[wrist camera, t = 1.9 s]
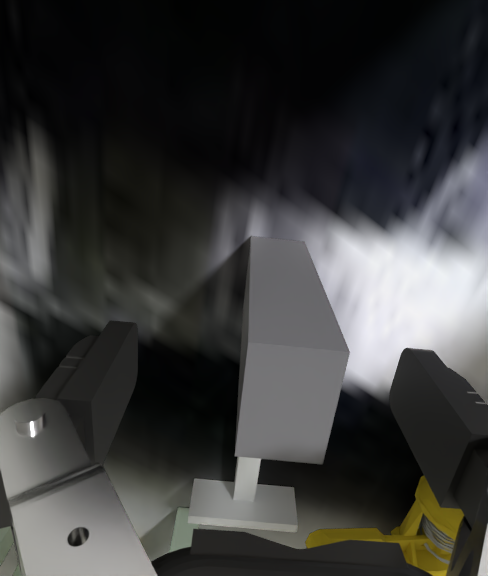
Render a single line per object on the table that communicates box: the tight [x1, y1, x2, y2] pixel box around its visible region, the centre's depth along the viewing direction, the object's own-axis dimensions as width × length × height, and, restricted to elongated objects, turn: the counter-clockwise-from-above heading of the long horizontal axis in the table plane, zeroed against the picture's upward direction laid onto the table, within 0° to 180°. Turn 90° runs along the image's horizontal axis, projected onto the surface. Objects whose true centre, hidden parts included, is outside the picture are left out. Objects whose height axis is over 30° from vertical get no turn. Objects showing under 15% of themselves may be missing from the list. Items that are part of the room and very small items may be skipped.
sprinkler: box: [305, 476, 464, 576], centre depth 24 cm, size 19×4×15 cm
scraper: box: [188, 236, 350, 533], centre depth 16 cm, size 6×16×9 cm, turn 174°
